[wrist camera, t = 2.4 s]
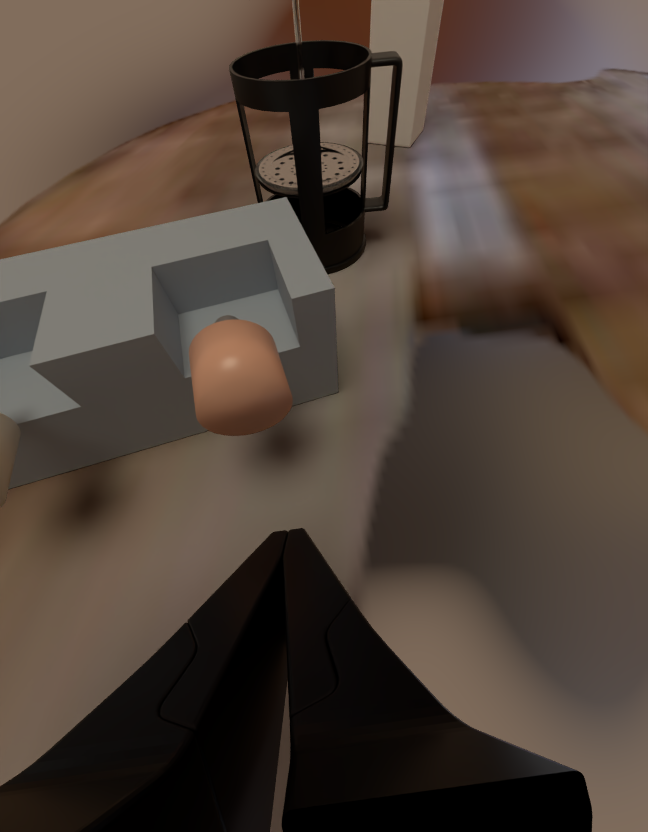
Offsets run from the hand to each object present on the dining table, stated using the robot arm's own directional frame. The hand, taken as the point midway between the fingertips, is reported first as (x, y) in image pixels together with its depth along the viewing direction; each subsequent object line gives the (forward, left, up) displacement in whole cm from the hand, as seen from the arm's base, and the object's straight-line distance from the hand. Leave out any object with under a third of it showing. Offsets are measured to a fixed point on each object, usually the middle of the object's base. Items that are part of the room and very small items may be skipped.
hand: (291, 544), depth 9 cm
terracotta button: (+8, -2, -3) cm, 8 cm away
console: (+17, +7, -8) cm, 20 cm away
